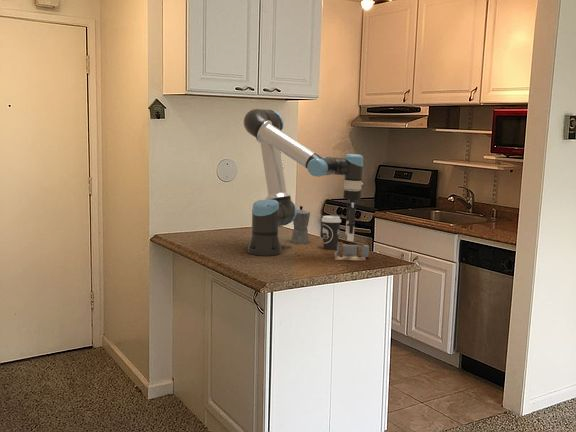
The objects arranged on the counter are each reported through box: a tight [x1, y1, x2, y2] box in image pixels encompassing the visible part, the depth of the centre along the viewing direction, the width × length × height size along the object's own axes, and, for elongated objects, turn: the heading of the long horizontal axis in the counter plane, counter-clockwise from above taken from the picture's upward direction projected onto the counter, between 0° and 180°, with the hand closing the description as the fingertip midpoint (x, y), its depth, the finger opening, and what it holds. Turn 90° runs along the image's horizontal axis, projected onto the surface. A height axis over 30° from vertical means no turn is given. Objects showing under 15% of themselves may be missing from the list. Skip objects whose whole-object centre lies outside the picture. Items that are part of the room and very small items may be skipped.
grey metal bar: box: [336, 243, 370, 258], centre depth 273 cm, size 14×5×4 cm, turn 88°
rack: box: [333, 241, 367, 262], centre depth 273 cm, size 13×11×6 cm
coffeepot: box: [291, 205, 311, 245], centre depth 307 cm, size 15×9×18 cm, turn 25°
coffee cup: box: [320, 215, 342, 250], centre depth 292 cm, size 10×10×15 cm
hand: (349, 238), depth 273 cm, fingers open, 13 cm apart
